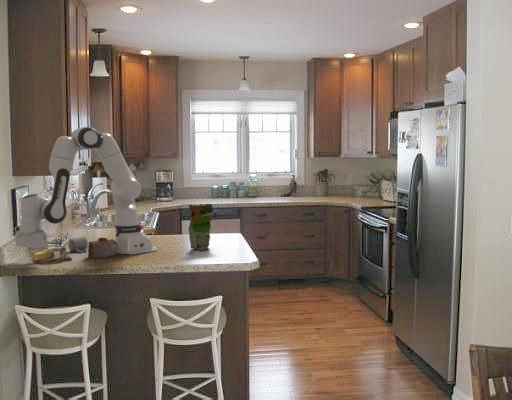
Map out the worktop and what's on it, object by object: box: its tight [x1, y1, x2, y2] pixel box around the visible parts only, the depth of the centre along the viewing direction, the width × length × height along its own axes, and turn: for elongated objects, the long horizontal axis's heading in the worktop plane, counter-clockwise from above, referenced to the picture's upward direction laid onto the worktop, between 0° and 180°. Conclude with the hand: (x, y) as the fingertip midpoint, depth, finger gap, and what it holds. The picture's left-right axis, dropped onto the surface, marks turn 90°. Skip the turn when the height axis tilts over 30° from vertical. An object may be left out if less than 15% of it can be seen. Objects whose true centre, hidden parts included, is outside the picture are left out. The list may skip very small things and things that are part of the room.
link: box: [31, 246, 55, 261], centre depth 271 cm, size 13×5×4 cm, turn 156°
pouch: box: [188, 203, 214, 252], centre depth 297 cm, size 11×12×25 cm
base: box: [33, 246, 72, 265], centre depth 274 cm, size 16×14×6 cm
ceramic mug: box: [67, 235, 89, 254], centre depth 294 cm, size 11×8×8 cm
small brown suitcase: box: [87, 237, 119, 260], centre depth 280 cm, size 14×8×10 cm, turn 129°
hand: (32, 256), depth 267 cm, fingers closed
